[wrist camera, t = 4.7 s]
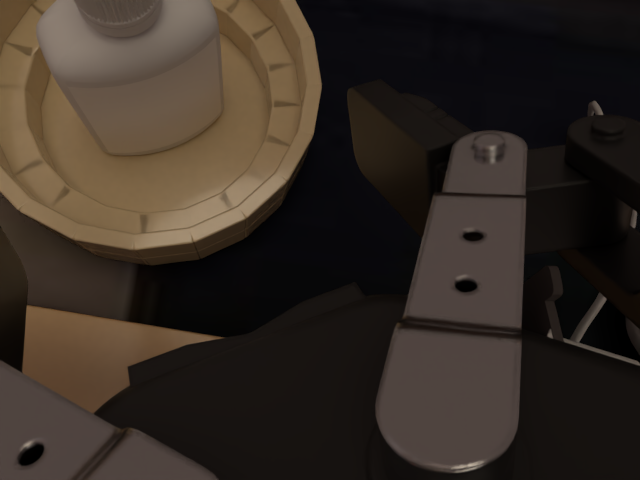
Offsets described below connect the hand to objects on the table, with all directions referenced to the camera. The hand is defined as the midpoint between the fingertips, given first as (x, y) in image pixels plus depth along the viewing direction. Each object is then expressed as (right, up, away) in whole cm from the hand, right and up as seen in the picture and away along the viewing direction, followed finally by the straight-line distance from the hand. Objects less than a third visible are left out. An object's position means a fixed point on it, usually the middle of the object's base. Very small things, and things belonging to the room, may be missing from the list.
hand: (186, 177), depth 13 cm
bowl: (-4, +4, +13) cm, 14 cm away
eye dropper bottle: (-4, +4, +13) cm, 14 cm away
